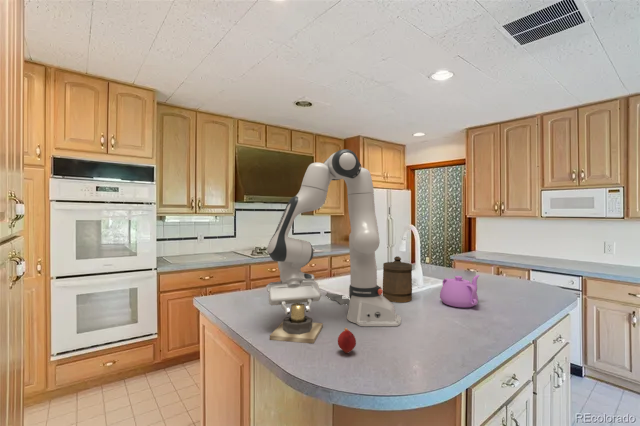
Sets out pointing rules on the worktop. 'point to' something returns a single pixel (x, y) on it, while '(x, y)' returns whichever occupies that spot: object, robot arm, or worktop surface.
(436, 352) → the worktop surface
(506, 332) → the worktop surface
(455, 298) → the teapot
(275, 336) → the jig board
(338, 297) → the cloth
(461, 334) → the worktop surface
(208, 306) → the worktop surface
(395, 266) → the wooden container
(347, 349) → the onion
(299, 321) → the brass cylinder peg
